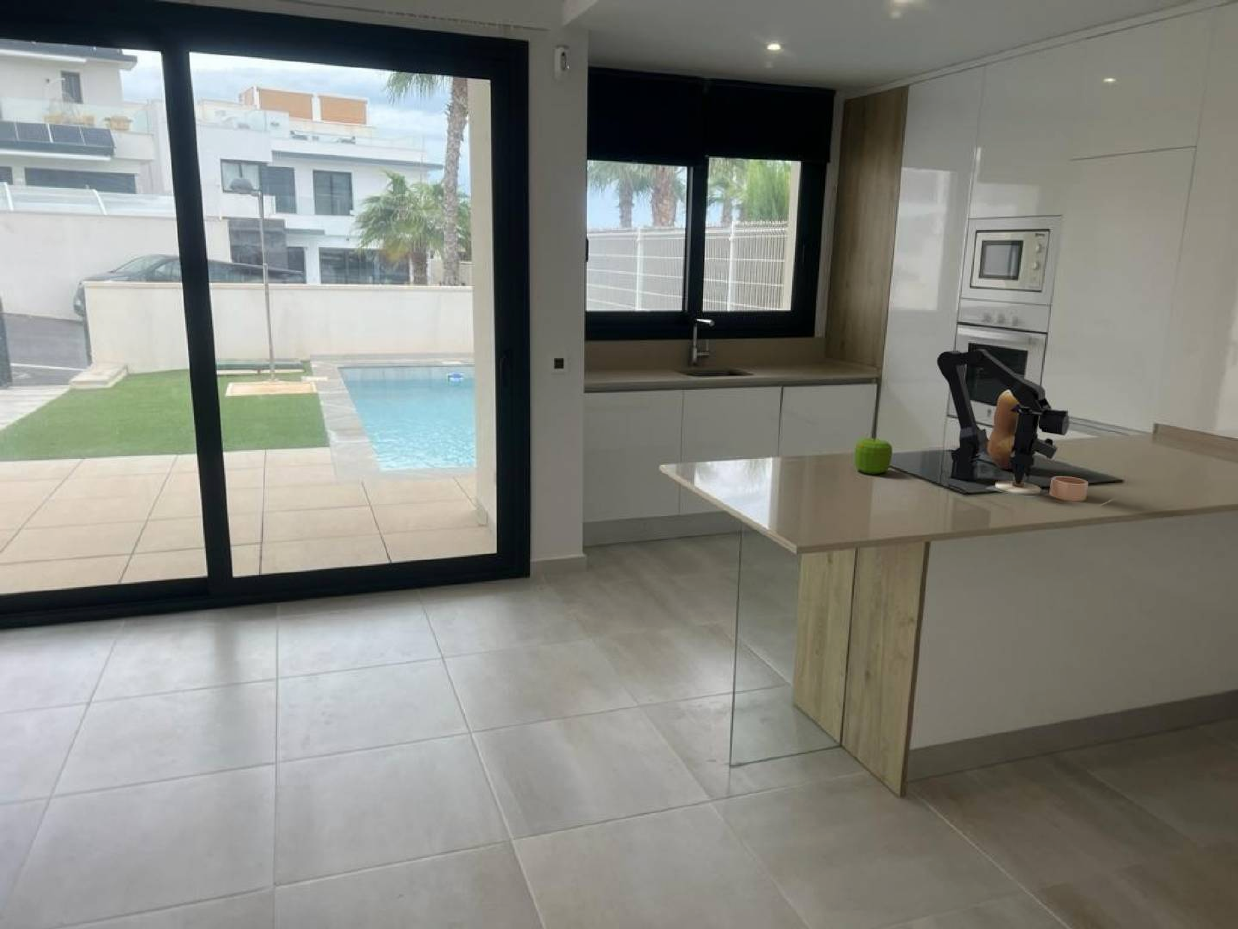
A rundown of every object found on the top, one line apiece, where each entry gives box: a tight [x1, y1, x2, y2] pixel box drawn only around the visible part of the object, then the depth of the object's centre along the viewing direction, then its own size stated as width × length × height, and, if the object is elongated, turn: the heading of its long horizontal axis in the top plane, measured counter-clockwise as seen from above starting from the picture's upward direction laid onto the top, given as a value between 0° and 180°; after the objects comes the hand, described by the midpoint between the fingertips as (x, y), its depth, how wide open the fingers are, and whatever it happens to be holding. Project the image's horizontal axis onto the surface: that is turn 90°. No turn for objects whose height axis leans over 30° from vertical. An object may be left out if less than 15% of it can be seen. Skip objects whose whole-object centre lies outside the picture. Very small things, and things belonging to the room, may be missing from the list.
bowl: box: [1048, 475, 1089, 502], centre depth 250 cm, size 9×9×5 cm
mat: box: [985, 484, 1050, 499], centre depth 256 cm, size 13×13×1 cm
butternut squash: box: [986, 389, 1029, 471], centre depth 279 cm, size 14×13×25 cm
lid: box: [994, 472, 1042, 495], centre depth 255 cm, size 12×12×5 cm
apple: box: [853, 437, 893, 475], centre depth 271 cm, size 11×11×11 cm
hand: (1018, 482), depth 255 cm, fingers closed on lid, 3 cm apart
